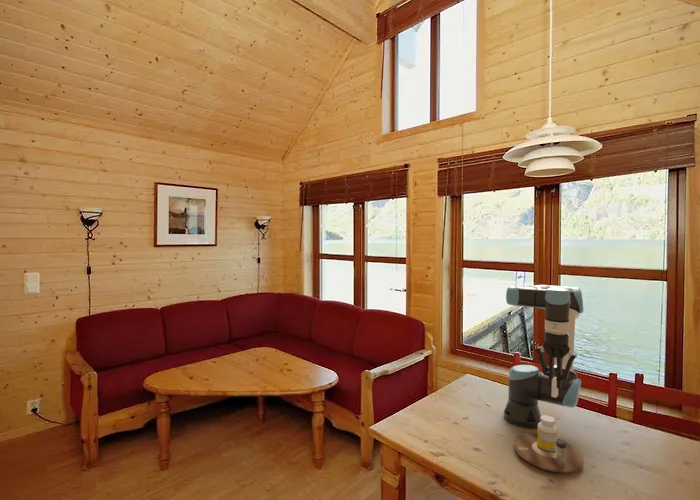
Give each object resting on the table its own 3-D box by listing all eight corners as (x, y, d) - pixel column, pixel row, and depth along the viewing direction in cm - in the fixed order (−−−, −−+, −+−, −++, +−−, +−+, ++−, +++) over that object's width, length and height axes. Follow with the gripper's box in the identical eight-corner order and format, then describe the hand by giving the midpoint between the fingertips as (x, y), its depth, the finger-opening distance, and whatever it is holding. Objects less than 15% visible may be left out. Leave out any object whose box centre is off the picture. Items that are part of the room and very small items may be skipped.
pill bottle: (546, 443, 136) (546, 412, 135) (561, 452, 130) (562, 421, 129) (532, 446, 133) (533, 415, 133) (547, 456, 127) (548, 424, 127)
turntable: (529, 471, 121) (529, 444, 121) (505, 434, 143) (505, 412, 143) (597, 474, 120) (598, 447, 119) (562, 437, 142) (563, 414, 141)
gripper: (533, 330, 131) (532, 393, 132) (575, 337, 122) (572, 405, 123) (539, 326, 136) (538, 387, 138) (580, 333, 127) (578, 397, 129)
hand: (554, 395), depth 130 cm, fingers closed
